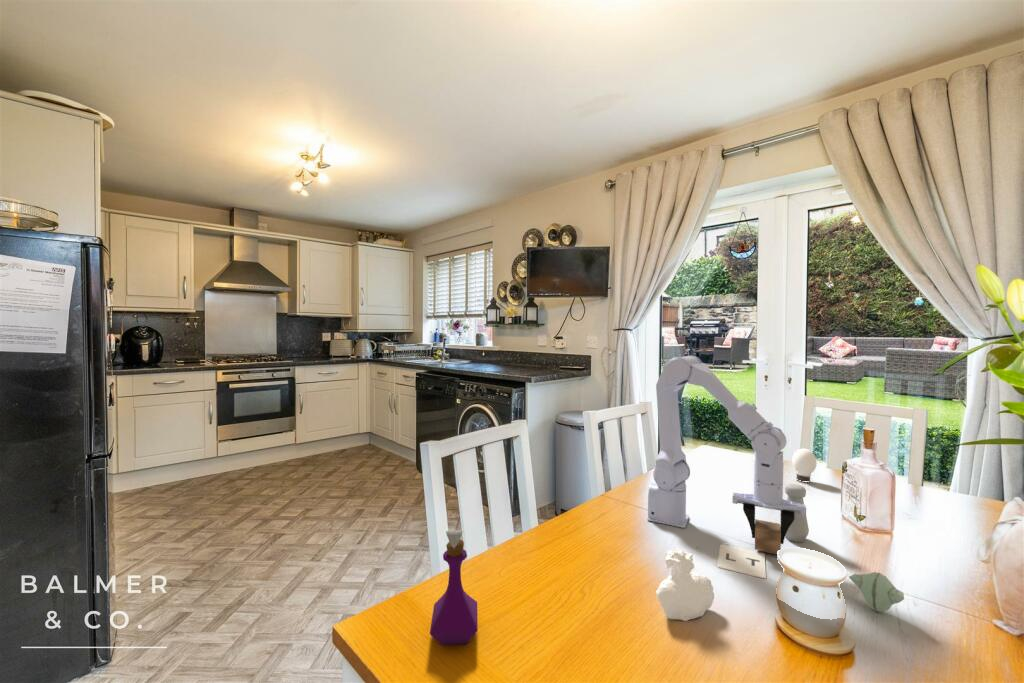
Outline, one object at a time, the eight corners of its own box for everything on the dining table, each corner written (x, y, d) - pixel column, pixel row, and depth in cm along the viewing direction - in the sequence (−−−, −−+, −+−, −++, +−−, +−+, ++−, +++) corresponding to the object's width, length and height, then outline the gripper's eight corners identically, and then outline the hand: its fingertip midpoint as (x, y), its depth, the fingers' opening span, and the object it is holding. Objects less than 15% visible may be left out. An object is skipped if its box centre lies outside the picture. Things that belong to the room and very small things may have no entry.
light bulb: (787, 478, 149) (787, 446, 149) (805, 477, 150) (806, 445, 149) (802, 485, 142) (803, 451, 142) (821, 484, 143) (822, 451, 143)
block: (754, 549, 99) (755, 527, 99) (754, 539, 104) (755, 519, 103) (780, 555, 97) (780, 532, 97) (779, 544, 101) (779, 523, 101)
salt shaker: (813, 545, 103) (814, 490, 102) (786, 542, 104) (787, 489, 104) (802, 533, 108) (803, 482, 108) (776, 531, 110) (777, 480, 109)
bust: (707, 613, 82) (681, 549, 88) (734, 608, 76) (704, 539, 82) (655, 628, 77) (631, 560, 83) (679, 624, 72) (652, 551, 78)
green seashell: (846, 602, 81) (847, 567, 81) (855, 595, 83) (856, 560, 83) (902, 627, 75) (903, 588, 74) (909, 618, 77) (911, 580, 77)
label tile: (717, 567, 93) (717, 566, 93) (720, 544, 103) (720, 543, 103) (765, 578, 89) (765, 577, 89) (764, 554, 98) (764, 553, 98)
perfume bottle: (434, 622, 76) (433, 520, 75) (477, 619, 76) (477, 518, 76) (429, 654, 68) (429, 541, 68) (477, 651, 69) (477, 539, 68)
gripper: (732, 480, 100) (731, 538, 100) (808, 492, 93) (806, 555, 93) (733, 471, 106) (732, 526, 107) (804, 482, 99) (803, 541, 99)
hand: (767, 539), depth 100 cm, fingers closed on block, 5 cm apart
